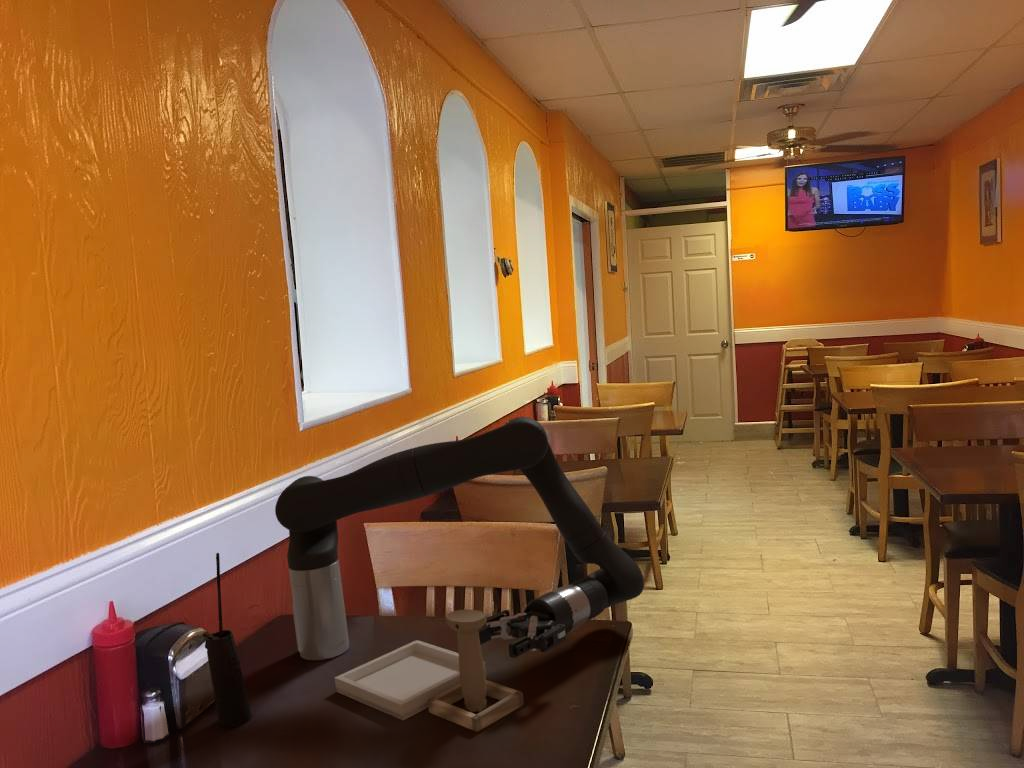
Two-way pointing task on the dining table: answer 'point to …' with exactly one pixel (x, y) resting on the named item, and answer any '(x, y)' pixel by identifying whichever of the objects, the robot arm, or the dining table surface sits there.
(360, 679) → the tray
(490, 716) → the wooden square frame
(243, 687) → the butter churn
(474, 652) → the handle
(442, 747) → the dining table surface
